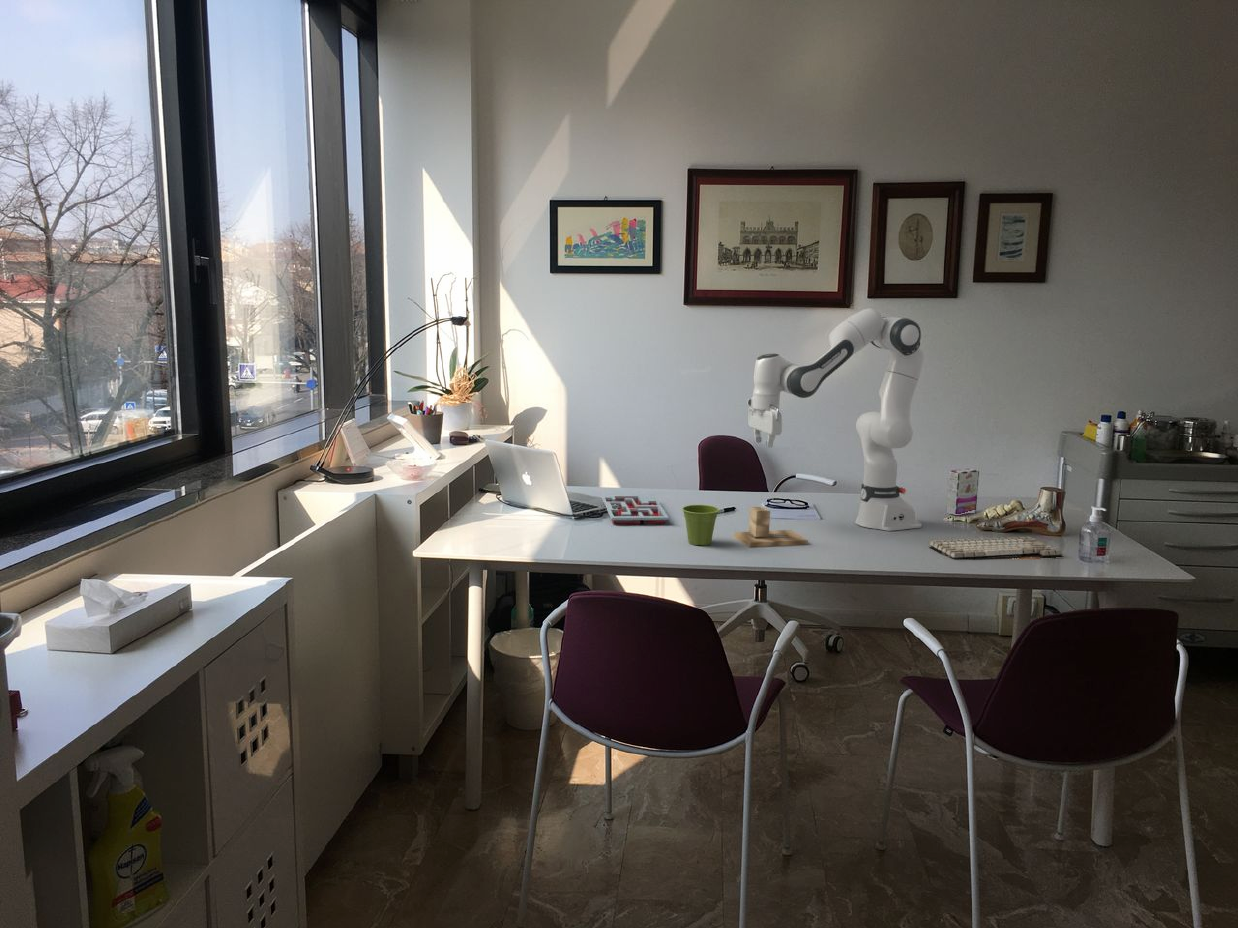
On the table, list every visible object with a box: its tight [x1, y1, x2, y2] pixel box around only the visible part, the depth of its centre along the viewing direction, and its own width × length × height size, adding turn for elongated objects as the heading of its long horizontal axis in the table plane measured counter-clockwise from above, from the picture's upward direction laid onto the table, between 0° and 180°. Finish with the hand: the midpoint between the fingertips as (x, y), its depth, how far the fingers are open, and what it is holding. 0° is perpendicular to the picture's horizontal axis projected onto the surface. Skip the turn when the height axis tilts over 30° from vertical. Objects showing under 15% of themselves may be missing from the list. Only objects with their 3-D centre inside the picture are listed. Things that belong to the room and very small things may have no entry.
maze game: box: [601, 494, 670, 525], centre depth 345 cm, size 35×20×3 cm, turn 7°
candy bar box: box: [945, 467, 980, 514], centre depth 358 cm, size 11×5×16 cm, turn 120°
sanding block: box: [748, 506, 771, 538], centre depth 311 cm, size 5×5×9 cm
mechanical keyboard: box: [928, 536, 1064, 561], centre depth 306 cm, size 38×19×3 cm, turn 103°
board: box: [733, 529, 809, 548], centre depth 313 cm, size 20×13×2 cm, turn 105°
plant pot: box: [681, 504, 720, 546], centre depth 307 cm, size 12×12×11 cm
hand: (763, 444), depth 322 cm, fingers open, 8 cm apart
